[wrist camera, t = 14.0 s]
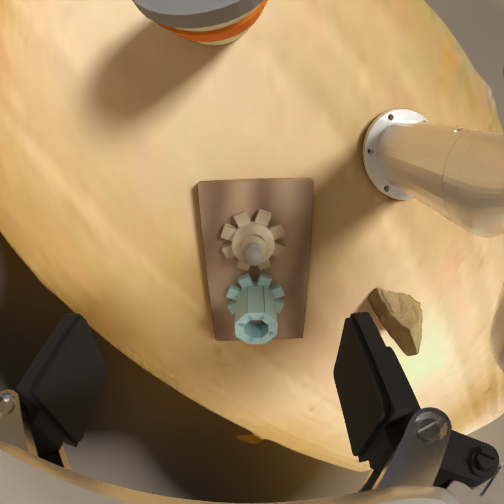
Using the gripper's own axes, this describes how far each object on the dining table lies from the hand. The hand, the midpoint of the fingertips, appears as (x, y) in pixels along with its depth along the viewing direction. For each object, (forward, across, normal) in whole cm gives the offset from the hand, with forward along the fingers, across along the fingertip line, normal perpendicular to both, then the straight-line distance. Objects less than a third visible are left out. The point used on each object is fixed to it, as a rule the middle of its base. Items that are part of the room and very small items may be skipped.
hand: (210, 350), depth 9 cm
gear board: (+28, -2, +12) cm, 31 cm away
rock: (+29, -25, +20) cm, 43 cm away
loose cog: (+27, -2, +16) cm, 32 cm away
